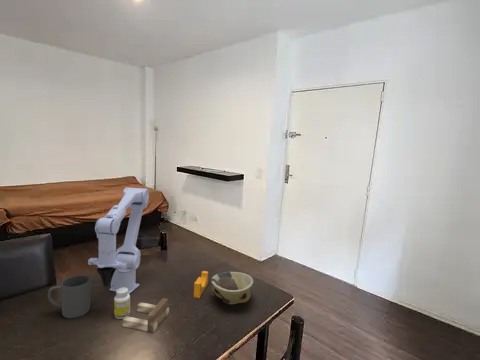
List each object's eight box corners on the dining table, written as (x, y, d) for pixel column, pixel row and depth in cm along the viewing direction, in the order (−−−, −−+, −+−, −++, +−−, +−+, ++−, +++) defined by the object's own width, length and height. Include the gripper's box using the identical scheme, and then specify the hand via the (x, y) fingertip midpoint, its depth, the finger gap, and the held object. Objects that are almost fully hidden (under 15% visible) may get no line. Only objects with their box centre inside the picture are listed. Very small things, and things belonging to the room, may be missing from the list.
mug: (92, 302, 107) (92, 274, 106) (87, 317, 99) (86, 286, 97) (52, 306, 104) (52, 276, 102) (43, 321, 95) (42, 289, 93)
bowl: (258, 296, 120) (259, 275, 119) (240, 318, 104) (242, 295, 102) (222, 285, 127) (223, 265, 126) (201, 304, 111) (202, 282, 110)
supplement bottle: (117, 310, 104) (117, 286, 103) (131, 310, 104) (132, 286, 103) (111, 319, 99) (111, 293, 97) (127, 319, 99) (127, 294, 98)
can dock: (122, 326, 95) (122, 310, 95) (140, 308, 106) (140, 293, 105) (154, 332, 93) (154, 316, 92) (168, 313, 104) (169, 299, 103)
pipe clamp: (198, 283, 128) (199, 270, 127) (207, 284, 127) (208, 271, 126) (189, 297, 116) (190, 282, 115) (199, 298, 115) (200, 284, 115)
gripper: (81, 251, 97) (82, 287, 99) (118, 257, 95) (117, 293, 96) (95, 244, 104) (95, 278, 106) (130, 249, 102) (129, 284, 103)
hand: (107, 285), depth 102 cm, fingers closed
